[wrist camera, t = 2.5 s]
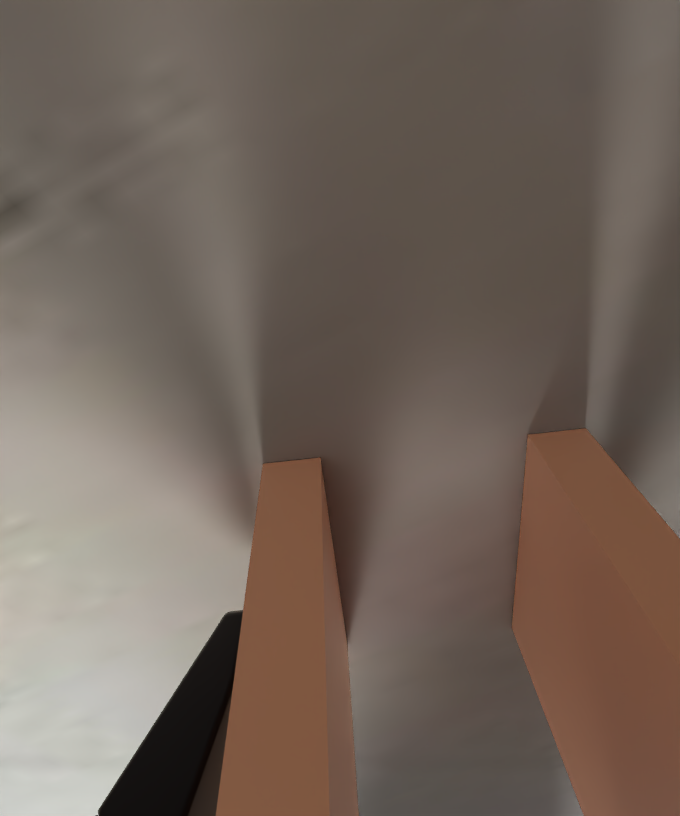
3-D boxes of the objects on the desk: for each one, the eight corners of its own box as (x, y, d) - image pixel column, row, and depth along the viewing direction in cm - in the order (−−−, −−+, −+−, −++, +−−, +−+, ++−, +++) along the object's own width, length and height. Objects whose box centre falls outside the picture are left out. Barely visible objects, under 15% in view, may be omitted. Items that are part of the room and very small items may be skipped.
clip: (302, 650, 12) (292, 1232, 6) (263, 464, 9) (172, 1135, 3) (557, 622, 12) (822, 1180, 6) (585, 428, 9) (1105, 1042, 3)
